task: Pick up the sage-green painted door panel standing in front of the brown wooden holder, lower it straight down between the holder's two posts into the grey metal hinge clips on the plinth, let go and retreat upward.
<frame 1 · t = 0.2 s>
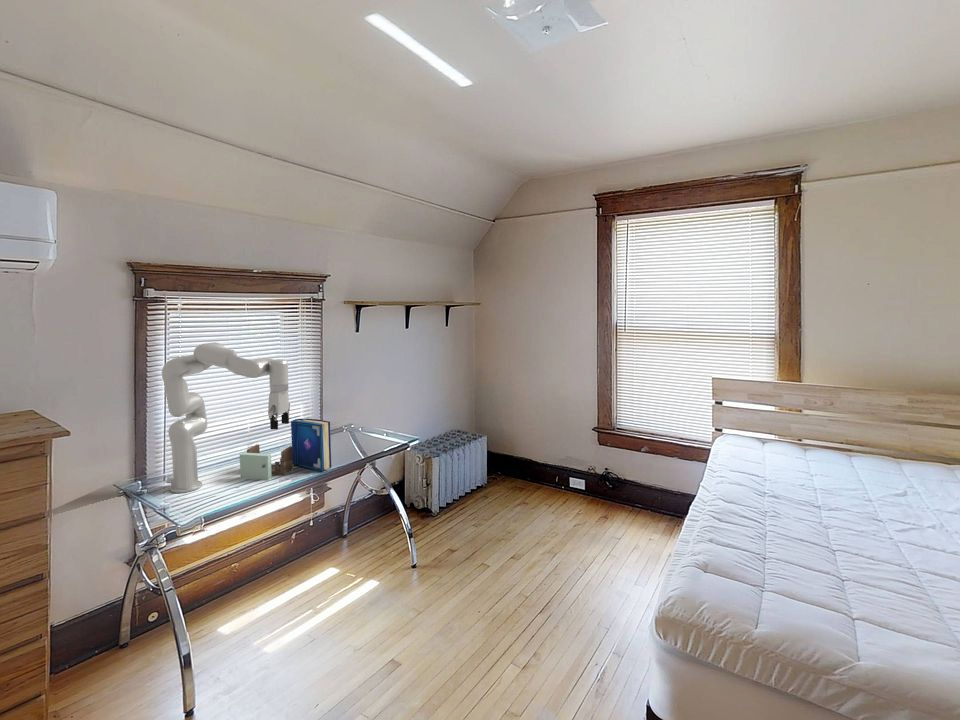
hand: (279, 426, 212), 31 cm above the table, fingers open, 9 cm apart
door: (256, 478, 233), on the table
book: (310, 467, 250), on the table
brown wooden holder: (270, 471, 243), on the table
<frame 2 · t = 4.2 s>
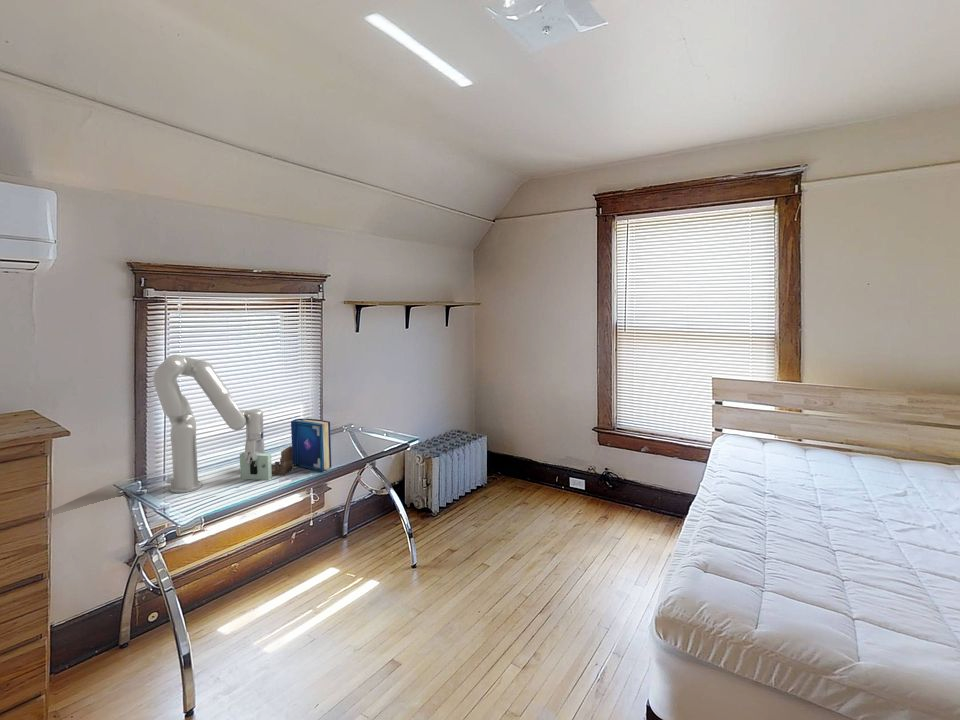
hand: (255, 472, 233), 3 cm above the table, fingers closed on door, 3 cm apart
door: (256, 478, 233), on the table, touching gripper
everything else where it was.
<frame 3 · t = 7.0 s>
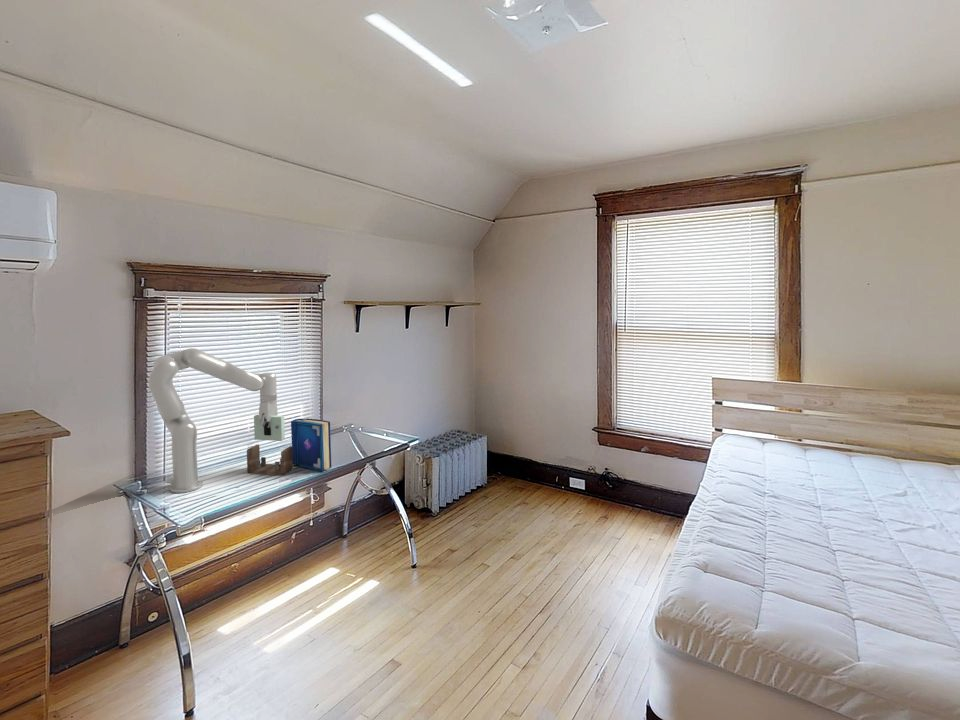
hand: (269, 433, 240), 19 cm above the table, fingers closed on door, 3 cm apart
door: (269, 439, 241), point 16 cm above the table, touching gripper
everything else where it was.
when the fingers open (7 cm above the table, at t = 10.0 s): door drops 2 cm, resting on brown wooden holder.
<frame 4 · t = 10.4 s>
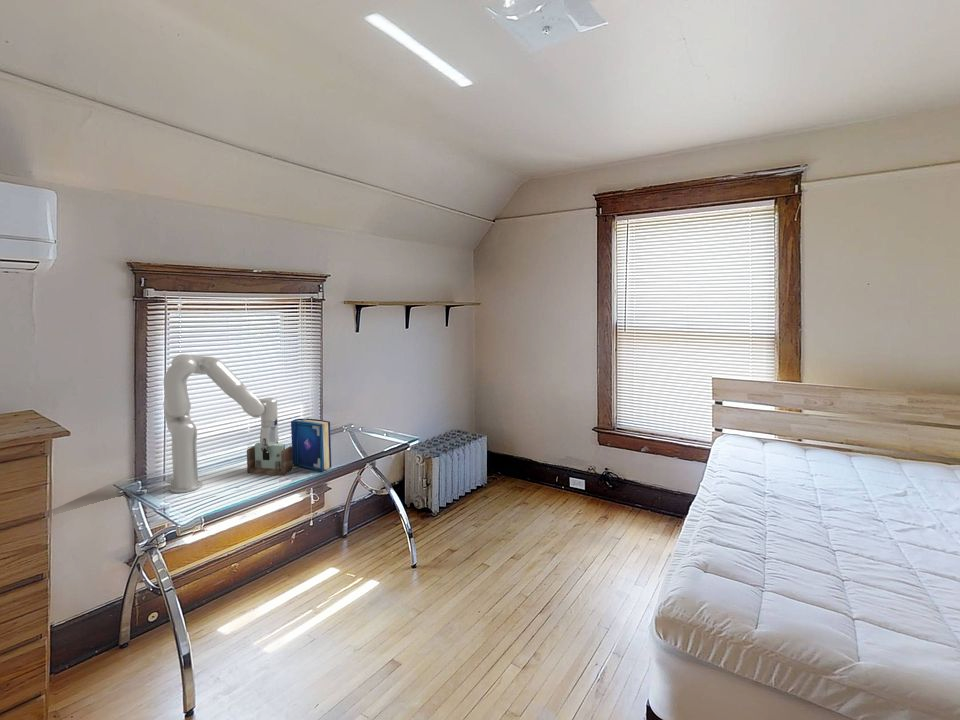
hand: (270, 457, 242), 7 cm above the table, fingers open, 7 cm apart
door: (270, 467, 243), point 2 cm above the table, touching brown wooden holder
everything else where it was.
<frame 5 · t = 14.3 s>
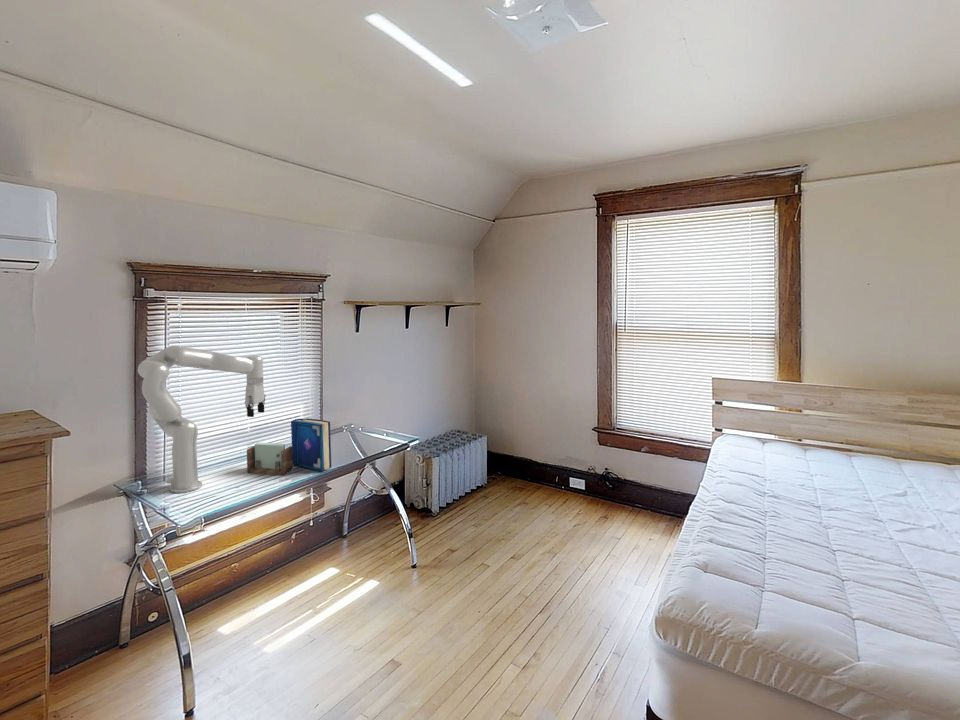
hand: (255, 414, 242), 28 cm above the table, fingers open, 9 cm apart
nothing on the table moved.
at the end: door 0.0 cm off-centre on the brown wooden holder, point 2.0 cm above the brown wooden holder's base; door tilted 0°; the gripper is holding nothing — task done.
